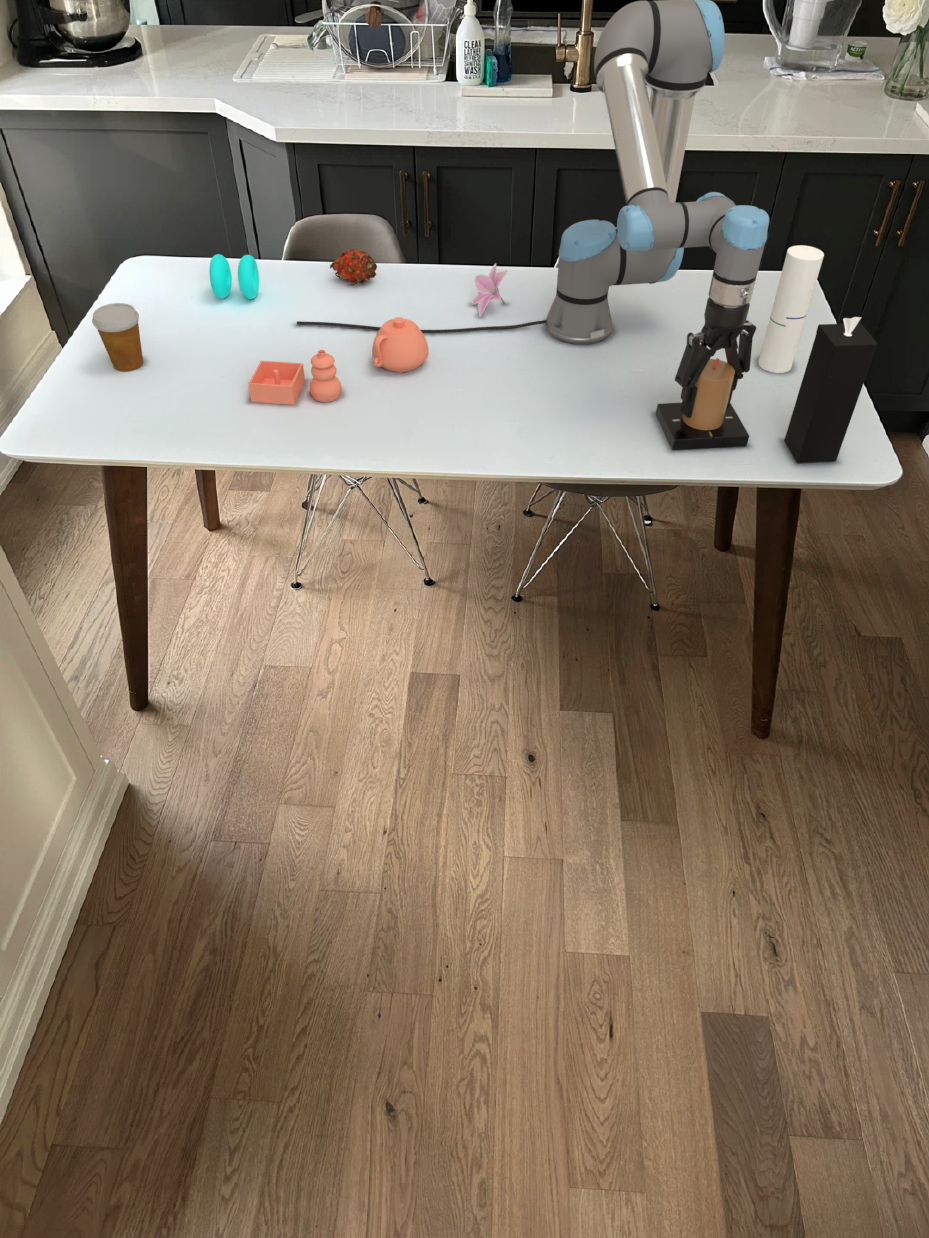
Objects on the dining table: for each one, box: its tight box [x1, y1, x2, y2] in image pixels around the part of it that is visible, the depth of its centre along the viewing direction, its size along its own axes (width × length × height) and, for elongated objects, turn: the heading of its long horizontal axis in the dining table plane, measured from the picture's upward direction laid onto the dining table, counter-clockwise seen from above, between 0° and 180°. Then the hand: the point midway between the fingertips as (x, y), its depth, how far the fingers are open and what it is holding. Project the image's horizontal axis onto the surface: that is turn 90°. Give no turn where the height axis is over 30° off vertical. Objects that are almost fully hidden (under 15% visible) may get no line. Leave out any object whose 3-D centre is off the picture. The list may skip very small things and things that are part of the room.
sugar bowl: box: [371, 316, 430, 374], centre depth 198 cm, size 12×14×10 cm
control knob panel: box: [655, 402, 750, 451], centre depth 183 cm, size 15×13×3 cm
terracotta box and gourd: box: [247, 349, 342, 406], centre depth 189 cm, size 18×10×10 cm, turn 83°
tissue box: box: [783, 316, 879, 464], centre depth 169 cm, size 8×8×28 cm
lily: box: [471, 262, 508, 318], centre depth 218 cm, size 12×12×10 cm
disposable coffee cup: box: [91, 302, 144, 372], centre depth 196 cm, size 10×10×12 cm
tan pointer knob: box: [682, 357, 735, 430], centre depth 178 cm, size 8×8×11 cm
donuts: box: [209, 253, 260, 300], centre depth 220 cm, size 10×10×10 cm
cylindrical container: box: [757, 244, 825, 374], centre depth 194 cm, size 7×7×25 cm
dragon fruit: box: [329, 248, 378, 286], centre depth 228 cm, size 8×8×12 cm
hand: (704, 409), depth 181 cm, fingers closed on tan pointer knob, 8 cm apart
